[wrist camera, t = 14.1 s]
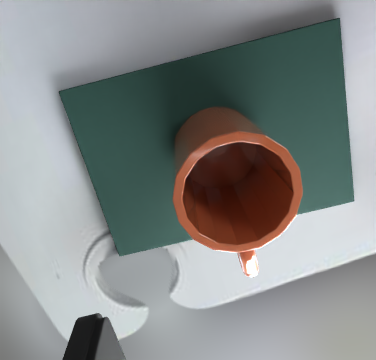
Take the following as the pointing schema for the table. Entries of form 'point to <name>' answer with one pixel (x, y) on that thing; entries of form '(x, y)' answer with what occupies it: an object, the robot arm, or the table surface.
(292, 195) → the tea mug
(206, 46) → the table surface
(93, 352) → the robot arm
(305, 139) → the mat
